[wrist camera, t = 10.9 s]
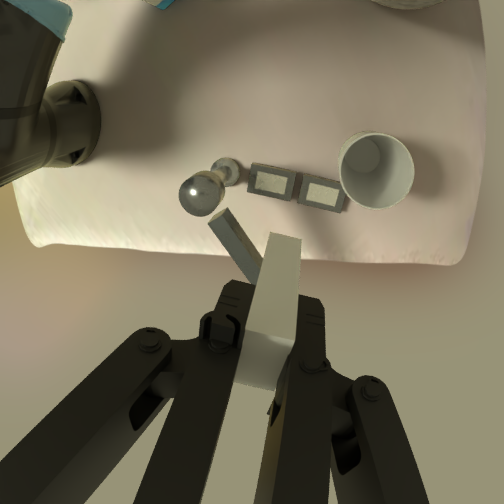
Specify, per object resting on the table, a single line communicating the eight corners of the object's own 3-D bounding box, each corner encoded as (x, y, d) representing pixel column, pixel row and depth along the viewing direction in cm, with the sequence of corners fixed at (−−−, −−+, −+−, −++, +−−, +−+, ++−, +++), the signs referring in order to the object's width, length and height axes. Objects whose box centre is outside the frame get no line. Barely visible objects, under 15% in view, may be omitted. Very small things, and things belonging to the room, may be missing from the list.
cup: (331, 182, 40) (337, 208, 31) (332, 123, 36) (339, 130, 27) (389, 185, 38) (410, 211, 29) (392, 127, 34) (417, 137, 26)
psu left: (248, 189, 42) (246, 192, 41) (252, 162, 40) (251, 164, 39) (290, 199, 42) (290, 201, 41) (296, 171, 40) (296, 173, 39)
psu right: (297, 200, 42) (297, 203, 41) (304, 173, 40) (303, 175, 39) (339, 210, 41) (340, 213, 40) (347, 183, 39) (348, 186, 38)
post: (210, 182, 43) (189, 201, 36) (213, 155, 41) (192, 169, 34) (237, 187, 42) (221, 208, 35) (241, 160, 40) (226, 175, 33)
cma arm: (181, 183, 34) (171, 191, 32) (210, 163, 33) (201, 169, 30) (273, 312, 41) (271, 326, 38) (302, 300, 39) (301, 314, 36)
